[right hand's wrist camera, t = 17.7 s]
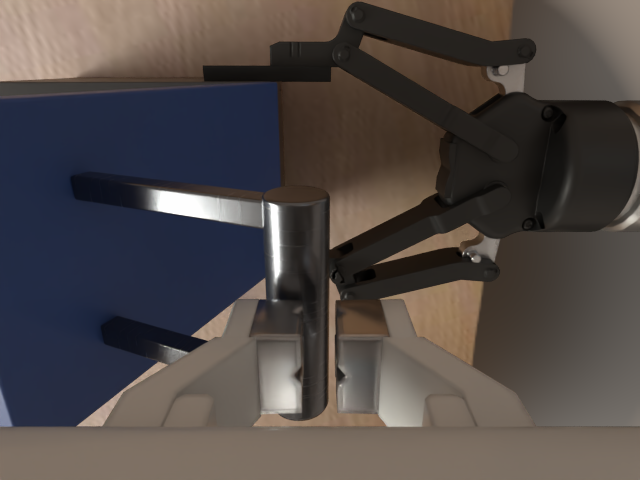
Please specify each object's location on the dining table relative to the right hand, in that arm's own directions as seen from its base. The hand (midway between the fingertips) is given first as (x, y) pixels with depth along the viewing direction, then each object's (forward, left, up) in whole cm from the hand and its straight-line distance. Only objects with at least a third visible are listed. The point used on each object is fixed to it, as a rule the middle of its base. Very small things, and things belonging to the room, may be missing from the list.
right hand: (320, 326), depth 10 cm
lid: (-3, -5, -8) cm, 10 cm away
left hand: (-3, -5, -17) cm, 18 cm away
